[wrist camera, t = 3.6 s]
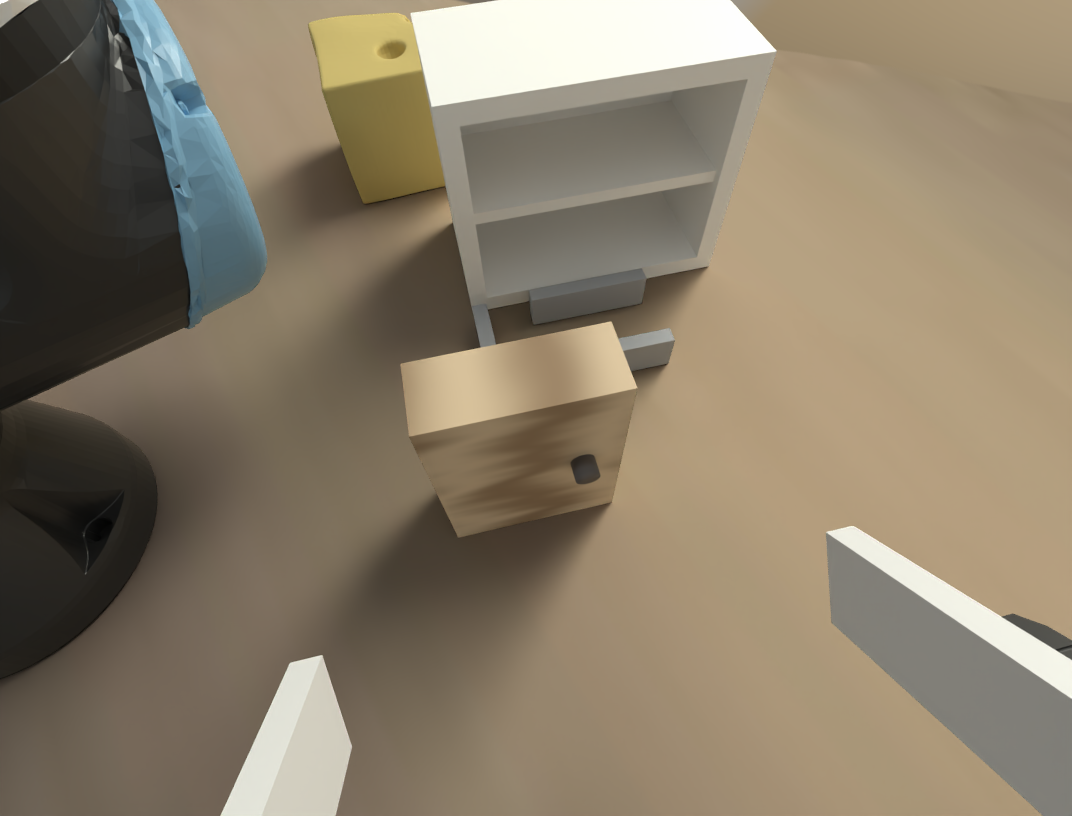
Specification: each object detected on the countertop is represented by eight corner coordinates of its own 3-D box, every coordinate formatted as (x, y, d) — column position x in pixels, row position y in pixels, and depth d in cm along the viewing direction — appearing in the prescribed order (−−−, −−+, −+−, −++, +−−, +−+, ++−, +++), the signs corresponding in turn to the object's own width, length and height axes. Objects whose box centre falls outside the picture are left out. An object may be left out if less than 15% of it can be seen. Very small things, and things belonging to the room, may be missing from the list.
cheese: (454, 118, 53) (434, -3, 44) (479, 186, 47) (462, 63, 39) (346, 139, 51) (303, 19, 43) (358, 212, 46) (313, 91, 37)
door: (460, 553, 30) (411, 458, 20) (449, 481, 33) (400, 363, 22) (616, 517, 31) (645, 408, 21) (595, 449, 33) (611, 321, 23)
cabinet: (492, 400, 36) (454, 208, 23) (452, 221, 45) (410, 13, 32) (752, 345, 37) (854, 137, 24) (663, 184, 46) (703, -30, 33)
